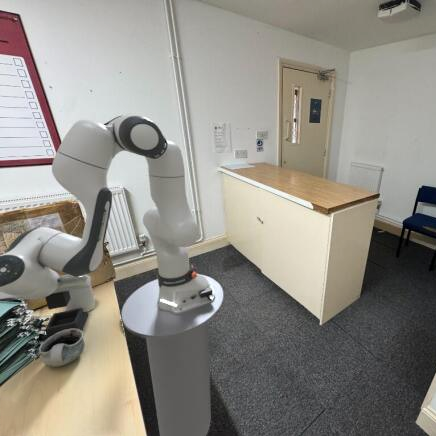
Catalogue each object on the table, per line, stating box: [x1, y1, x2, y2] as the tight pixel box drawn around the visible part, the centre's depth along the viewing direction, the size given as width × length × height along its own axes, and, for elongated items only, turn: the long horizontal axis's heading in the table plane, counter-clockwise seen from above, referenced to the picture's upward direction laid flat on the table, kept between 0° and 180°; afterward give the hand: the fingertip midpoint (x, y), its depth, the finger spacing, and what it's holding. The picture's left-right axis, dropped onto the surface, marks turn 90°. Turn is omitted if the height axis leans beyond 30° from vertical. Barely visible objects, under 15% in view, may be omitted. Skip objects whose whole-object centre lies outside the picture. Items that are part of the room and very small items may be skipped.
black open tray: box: [41, 308, 89, 342], centre depth 82 cm, size 10×9×4 cm
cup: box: [66, 285, 96, 312], centre depth 89 cm, size 8×8×12 cm
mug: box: [38, 329, 86, 368], centre depth 69 cm, size 10×12×10 cm
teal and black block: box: [44, 291, 71, 310], centre depth 77 cm, size 4×4×9 cm
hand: (57, 290), depth 78 cm, fingers closed on teal and black block, 4 cm apart
